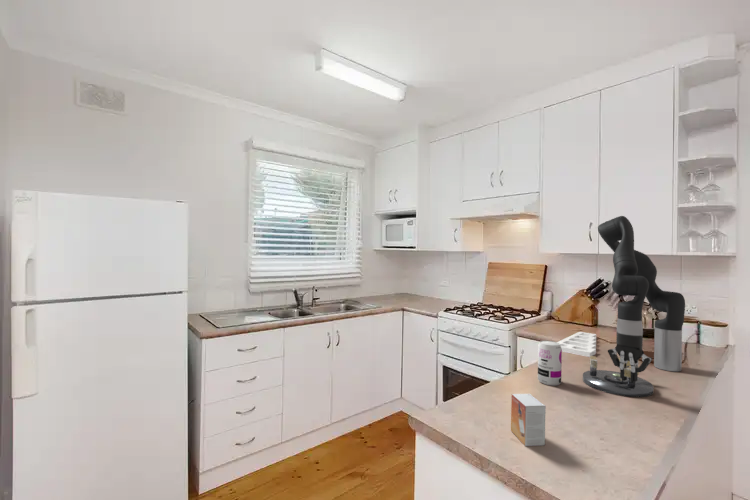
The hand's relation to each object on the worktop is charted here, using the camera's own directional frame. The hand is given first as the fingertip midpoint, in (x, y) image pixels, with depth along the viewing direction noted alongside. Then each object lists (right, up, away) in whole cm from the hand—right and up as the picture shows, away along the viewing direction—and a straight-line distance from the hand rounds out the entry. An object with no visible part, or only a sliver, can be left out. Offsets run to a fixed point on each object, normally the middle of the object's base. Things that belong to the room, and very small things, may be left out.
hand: (628, 380), depth 127 cm
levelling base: (+2, -5, +9) cm, 10 cm away
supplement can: (-23, -5, +11) cm, 26 cm away
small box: (-48, -5, -30) cm, 57 cm away
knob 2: (+2, -2, +1) cm, 3 cm away
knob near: (+8, -2, +13) cm, 15 cm away
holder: (+23, -6, +66) cm, 70 cm away
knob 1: (-5, -2, +12) cm, 13 cm away
